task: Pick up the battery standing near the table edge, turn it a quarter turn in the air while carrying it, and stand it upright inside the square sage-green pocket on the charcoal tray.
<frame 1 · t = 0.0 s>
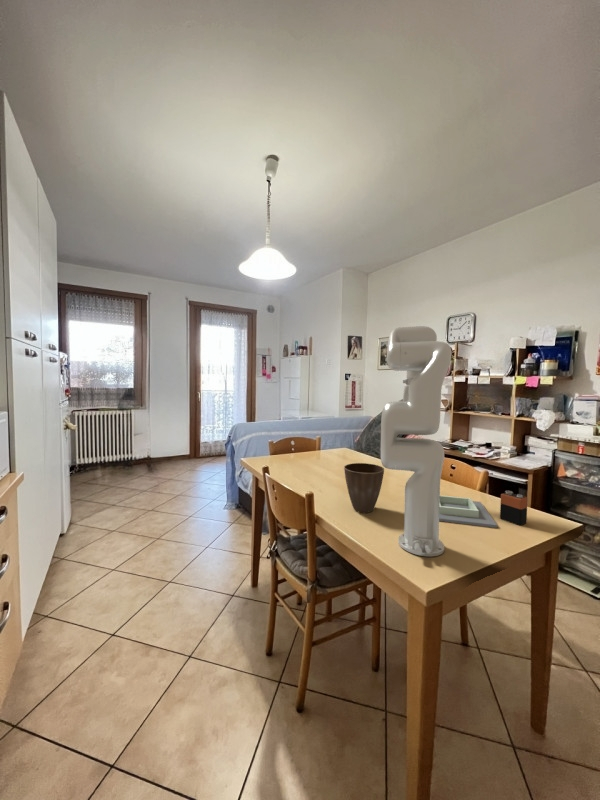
hand: (414, 423, 134), 31 cm above the table, tool pointing down, fingers open, 9 cm apart
slot tray: (454, 511, 118), on the table
battery: (513, 521, 110), on the table
plant pot: (363, 509, 120), on the table
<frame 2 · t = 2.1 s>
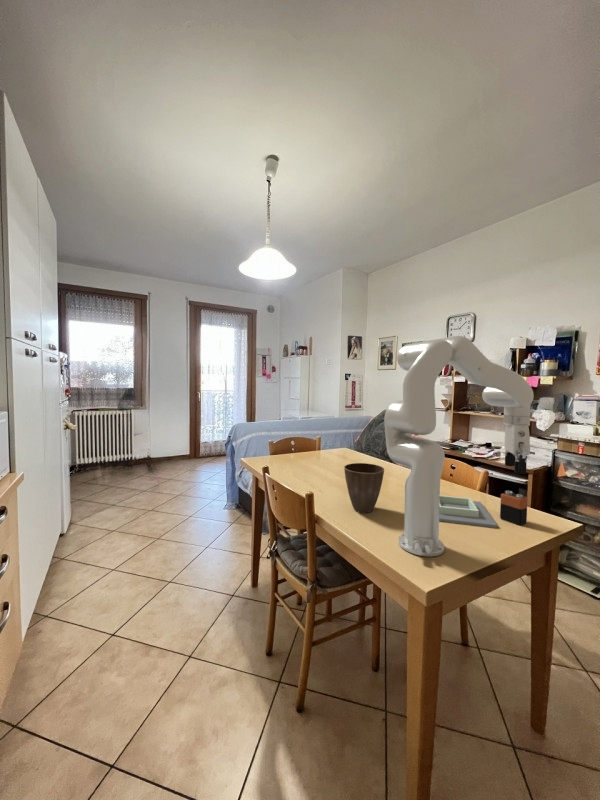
hand: (514, 469, 109), 18 cm above the table, tool pointing down, fingers open, 9 cm apart
nothing on the table moved.
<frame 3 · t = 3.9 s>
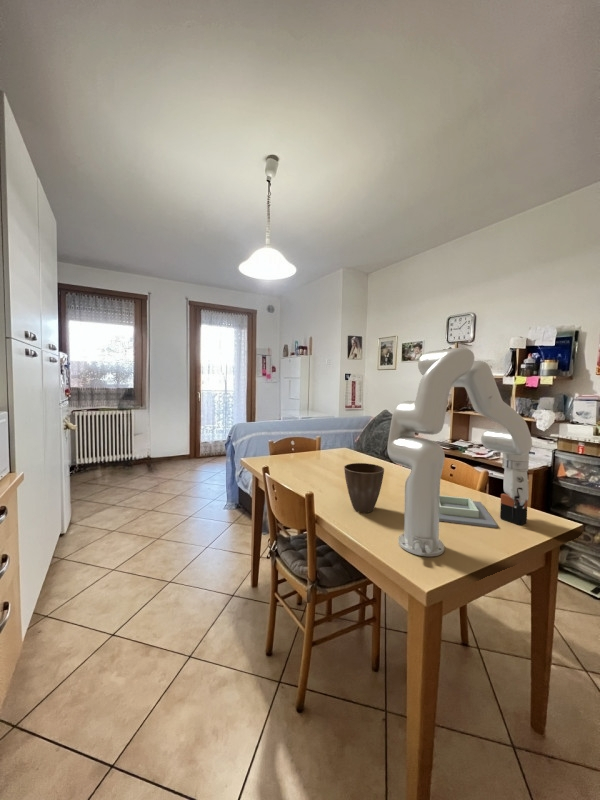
hand: (513, 514, 110), 2 cm above the table, tool pointing down, fingers closed on battery, 7 cm apart
battery: (513, 521, 110), on the table, touching gripper
everything else where it was.
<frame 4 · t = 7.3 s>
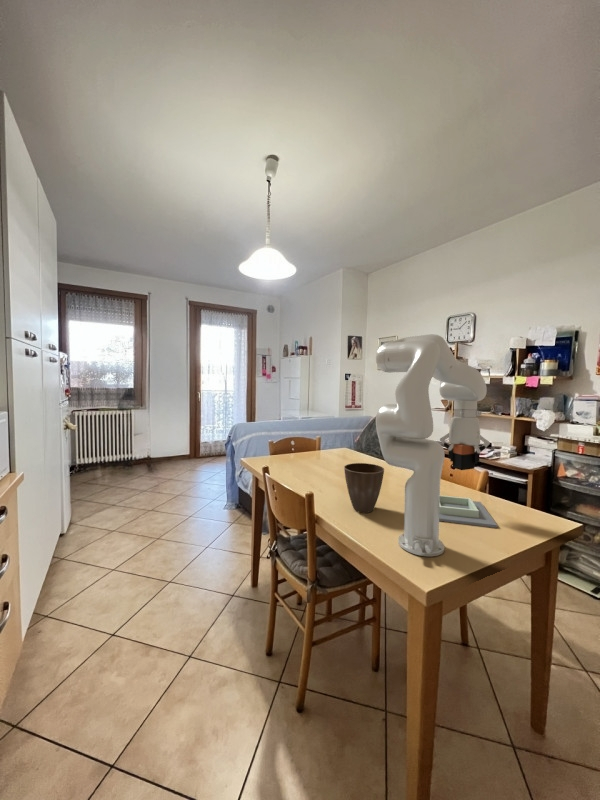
hand: (463, 461, 116), 19 cm above the table, tool pointing down, fingers closed on battery, 7 cm apart
battery: (463, 468, 116), point 17 cm above the table, touching gripper
everything else where it was.
when the fingers open (4 cm above the table, at t = 10.6 s): battery drops 1 cm, resting on slot tray.
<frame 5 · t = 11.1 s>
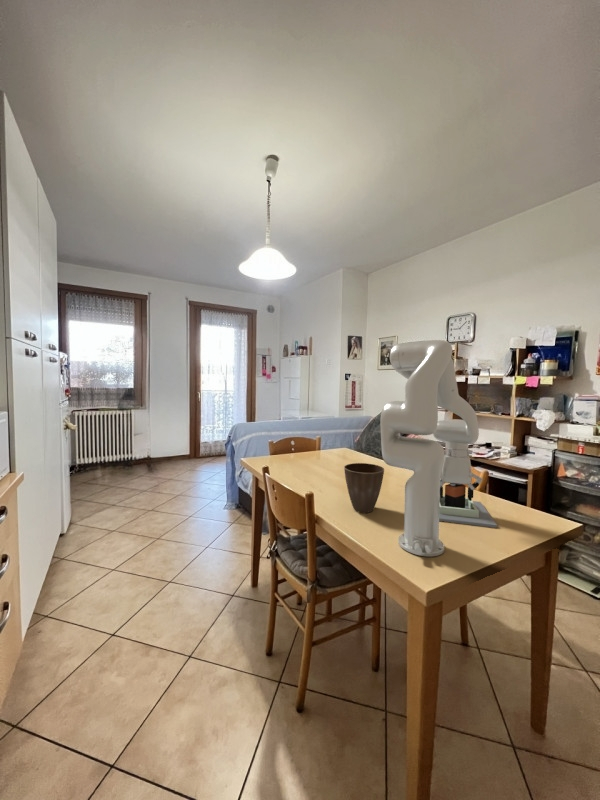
hand: (455, 498, 118), 5 cm above the table, tool pointing down, fingers open, 9 cm apart
battery: (454, 509, 118), point 1 cm above the table, touching slot tray
everything else where it was.
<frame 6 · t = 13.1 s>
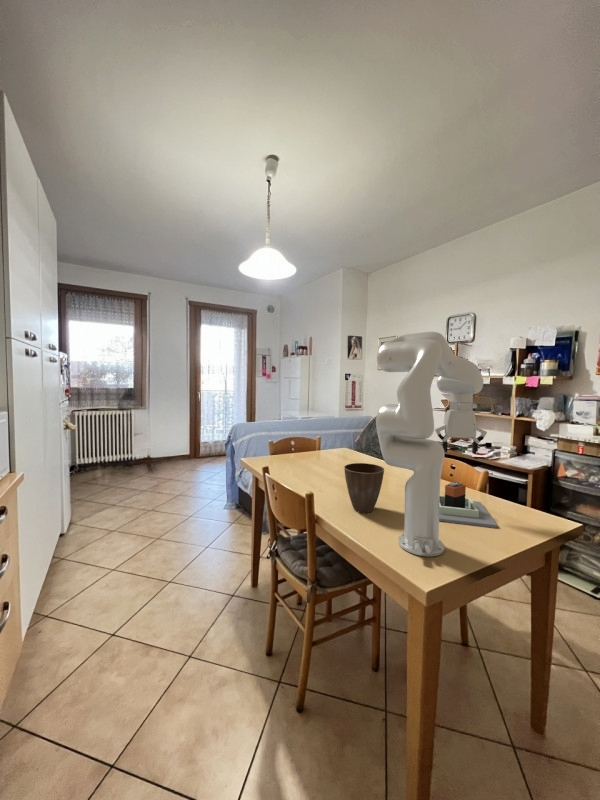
hand: (459, 452, 118), 22 cm above the table, tool pointing down, fingers open, 9 cm apart
nothing on the table moved.
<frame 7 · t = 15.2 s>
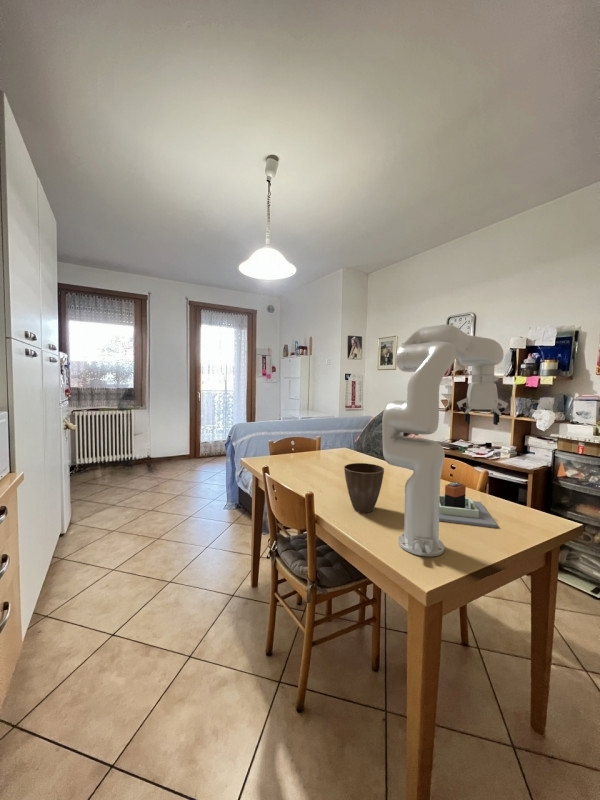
hand: (481, 424, 122), 32 cm above the table, tool pointing down, fingers open, 9 cm apart
nothing on the table moved.
at the end: battery 0.1 cm off-centre on the slot tray, point 0.8 cm above the slot tray's base; battery tilted 0°; the gripper is holding nothing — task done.
